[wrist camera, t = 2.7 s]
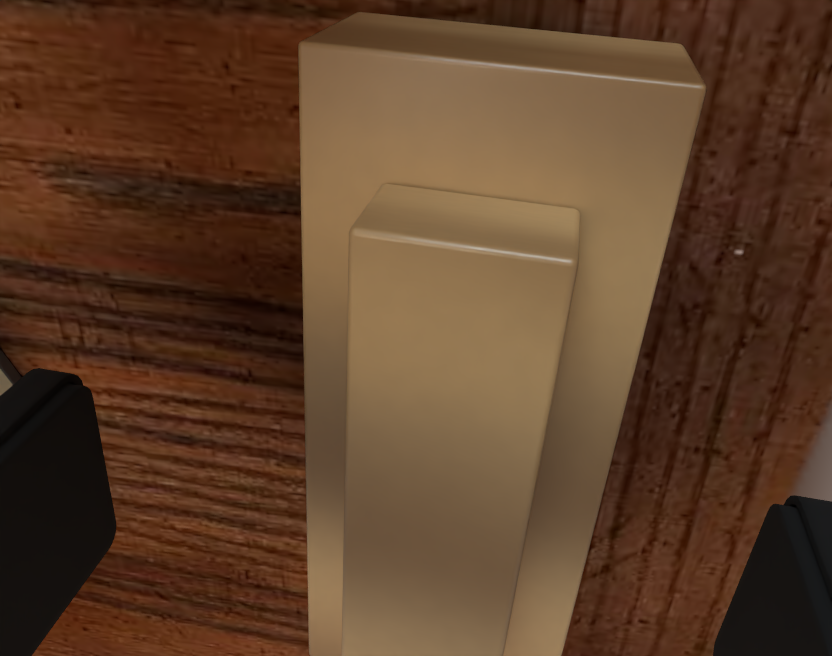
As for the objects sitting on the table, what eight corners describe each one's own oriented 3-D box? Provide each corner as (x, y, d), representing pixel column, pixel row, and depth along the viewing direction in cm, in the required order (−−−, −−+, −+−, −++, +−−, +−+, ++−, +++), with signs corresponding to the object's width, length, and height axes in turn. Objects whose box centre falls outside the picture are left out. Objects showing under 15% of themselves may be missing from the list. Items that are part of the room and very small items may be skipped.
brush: (381, -2, 12) (243, 67, 7) (674, 26, 11) (732, 123, 7) (363, 508, 17) (279, 733, 13) (557, 546, 17) (543, 797, 12)
